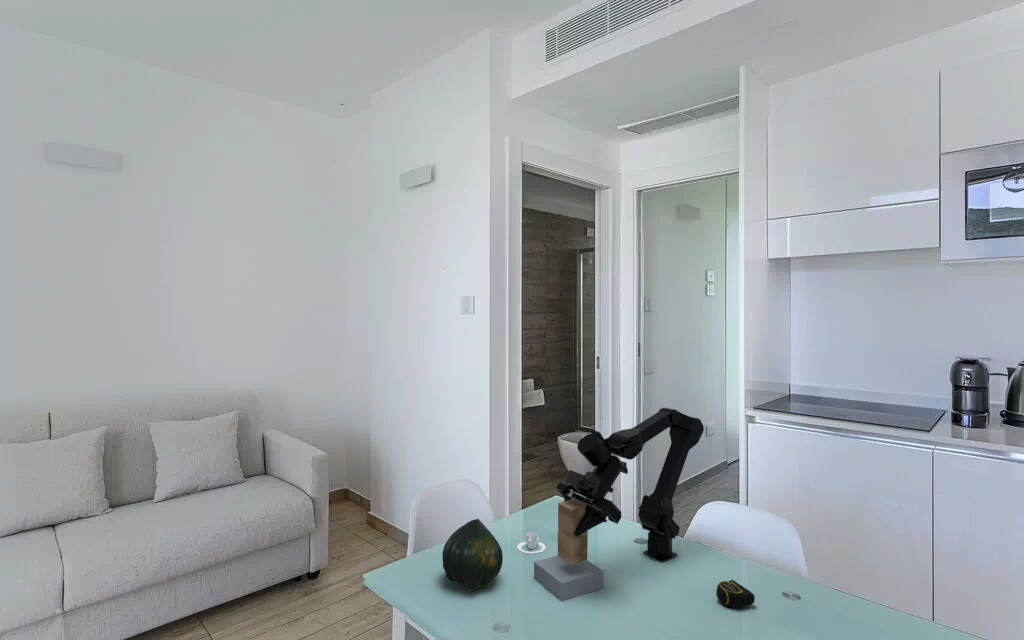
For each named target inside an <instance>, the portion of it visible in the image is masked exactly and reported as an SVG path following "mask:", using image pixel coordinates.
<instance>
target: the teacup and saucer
mask: <svg viewBox="0 0 1024 640" xmlns="http://www.w3.org/2000/svg"><path fill="white" fill-rule="evenodd" d="M525 536H526V539H525V541H521V542H520V543H518V544H517V546H516V547H517V550H518V551H519V552H522V553H524V554H528V555H529V554H530V555H531V554H532V555H534V554H535V555H536V554H541V553H542V552H544V551H545V550H546V549H547V546H546V545H545V544H544V543H543V542H540V538H539V536H538V532H536V531H535V532H533V531H529V532H527V533H526V535H525ZM524 545H526V546H527V548H528V549H529V550H535V549H536V547H537V545H539V546H540V549H539V550H535V551H527V550H524V549H523V548H522V547H523V546H524Z"/></svg>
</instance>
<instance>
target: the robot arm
mask: <svg viewBox="0 0 1024 640" xmlns="http://www.w3.org/2000/svg"><path fill="white" fill-rule="evenodd" d="M667 429H669V432H668V433H669V438H670V446H669V449H668V452H667V454H666V457H665V460H664V463H663V466H662V468H661V471H660V474H659V477H658V479H657V483H656V485H655V487H654V490H653V492H652V493H651V494H649V495H646V494H644V495H643V497H642V500H641V503H640V506H639V507H638V515H637V516H638V518H639V521H640V525H641V528H642V529H643V530H646V531H648V532H647V539H646V540H647V541H646V542H647V549H646V550H643V552H642V553H643V554H644V555H646V556H647V557H650V558H653V559H654V560H657V561H659V562H660V563H661V562H662V563H663V562H666V561H668V560H670V559H673V558H675V557H677V556H678V554H677V552H674V551H673V540H674V539H676V537H678V535H679V533H680V529H681V528H680V526H679V525H678V524H677V522H675V520H674V519H673V518H674V515H675V510H674V505H673V498H674V495H675V492H676V489H677V486H678V483H679V480H680V477H681V474H682V472H683V469H684V466H685V463H686V460H687V457H688V454H689V452H690V450H691V449H692V448H694V447H695V446H696V445H697V444H699V441H700V439H701V437H702V435H703V433H704V431H705V429H704V424H703V423H702V420H701V419H700V418H698V417H694V416H689V415H687V414H684V413H682V412H681V411H678V410H677V409H674V408H669V407H663V408H662V407H661V408H659V410H658V412H656V413H654V414H653V415H650V416H649V417H648V418H646V419H645V420H643V421H641V422H640V423H638V424H637V425H635V426H633V427H631V428H627V429H626V428H625V429H621V430H618V431H616V432H613V433H611V434H610V435H609V436H608V437H606V438H604V436H603V435H602V433H600V431H598V430H592V432H591V433H588V434H587V435H585V436H583V437H581V438H580V439H579V441H578V442H577V445H576V446H577V447H576V448H577V451H578V452H579V453H580V454H581V456H583V458H584V459H585V460H586V461H587V462H588V463H589V464H590V465H591V466H592V467H594V468H593V470H592V472H591V471H589V470H588V471H587V472H585V474H582V473H579V472H577V471H575V470H572V469H569V470H568V473H567V476H566V479H565V481H564V480H563V481H559V483H558V484H557V485H556V487H555V490H557V492H558V493H559V494H560V495H561V496H562V498H563V500H564V501H567V500H571V499H576V500H578V501H580V502H582V503H584V504H586V512H585V514H584V516H583V518H582V520H581V521H580V523H579V525H578V527H577V528H576V531H575V533H574V534H575V535H576V536H577V537H578V536H579V535H581V534H583V533H584V532H586V531H588V532H589V530H591V529H592V528H595V527H597V526H598V525H601V524H602V523H607V522H608V521H610V522H612V523H614V524H617V525H618V524H619V522H620V521H621V519H622V511H621V509H620V508H618V506H617V505H616V504H615V503H614V502H613V501H612V500H610V499H608V498H605V497H606V496H607V495H608V493H609V494H612V493H613V492H614V489H613V487H612V486H613V485H614V483H615V482H616V480H617V478H618V477H619V475H620V474H622V473H623V474H626V475H627V474H628V473H629V469H628V467H627V462H625V461H622V460H621V459H620V458H623V459H625V460H629V461H630V460H634V459H635V458H636V457H637V456H638V455H639V454H640V453H641V452H642V451H643V450H644V445H645V444H646V443H647V442H649V441H651V440H652V439H653V438H655V437H656V436H658V435H659V434H661V433H663V432H664V431H665V430H667ZM607 519H608V520H607Z"/></svg>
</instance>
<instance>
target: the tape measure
mask: <svg viewBox="0 0 1024 640" xmlns="http://www.w3.org/2000/svg"><path fill="white" fill-rule="evenodd" d="M715 594H716V597H717V599H718V600H719V601H720V602H721V603H722V604H723V605H726V606H727V607H731V608H733V609H735V608H736V609H742V608H745V607H747V606H751V605H753V604H754V603H755V601H756V599H755V594H754V593H753V592H752V591H750V590H749V589H747V588H746V587H744V586H743V585H741V584H740V583H738V582H737V581H735V580H734V579H730V580H729V581H727V580H722V581H720V582H719V583H718V584H717V586H716V593H715Z"/></svg>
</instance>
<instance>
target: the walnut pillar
mask: <svg viewBox="0 0 1024 640" xmlns="http://www.w3.org/2000/svg"><path fill="white" fill-rule="evenodd" d="M557 505H558V506H557V508H558V509H557V511H558V512H557V514H558V515H557V556H558V557H560V558H561V559H563V560H564V561H566V562H567V563H569V564H570V565H572V564H575V563H578V562H581V561H584V560H588V544H589V541H588V538H589V535H588V533H589V530H588V531H586V532H584V533H583V534H581V535H579V536H578V537H577V536H576V535H575V534H574V533H575V531H576V528H577V527H578V525H579V523H580V521H581V520H582V518H583V516H584V514H585V512H586V504H584V503H582V502H580V501H578V500H576V499H571V500H567V501H559V502H558V503H557Z"/></svg>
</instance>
